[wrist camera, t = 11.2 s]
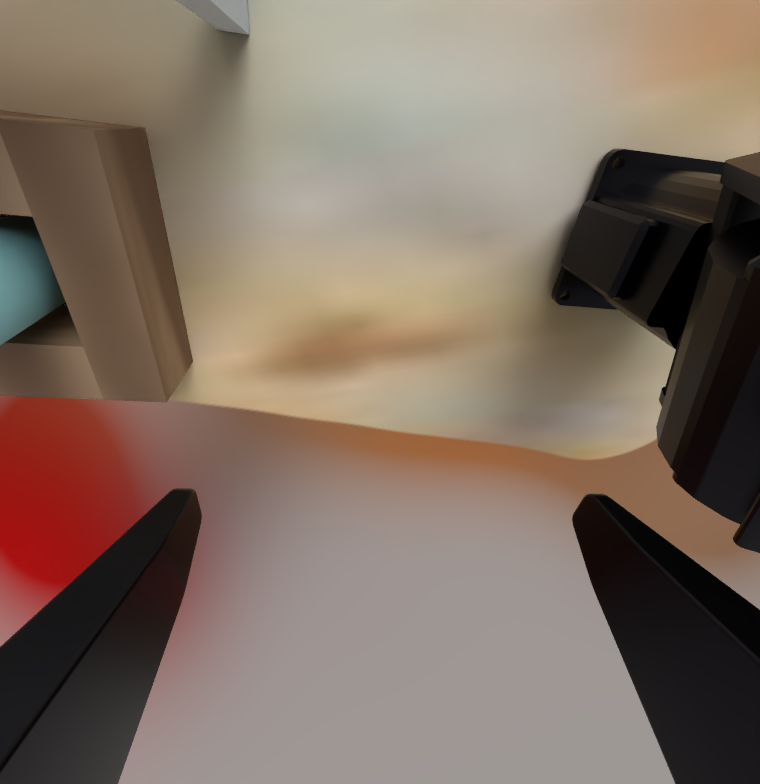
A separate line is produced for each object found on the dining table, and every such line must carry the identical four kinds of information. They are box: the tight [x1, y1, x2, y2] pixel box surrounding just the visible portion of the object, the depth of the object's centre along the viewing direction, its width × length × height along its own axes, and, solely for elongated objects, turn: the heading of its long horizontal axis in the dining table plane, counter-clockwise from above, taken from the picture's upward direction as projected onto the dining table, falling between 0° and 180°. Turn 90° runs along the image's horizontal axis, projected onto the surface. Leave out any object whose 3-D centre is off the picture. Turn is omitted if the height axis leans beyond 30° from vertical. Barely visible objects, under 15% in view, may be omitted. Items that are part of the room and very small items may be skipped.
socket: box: [0, 111, 193, 402], centre depth 15 cm, size 10×10×4 cm
